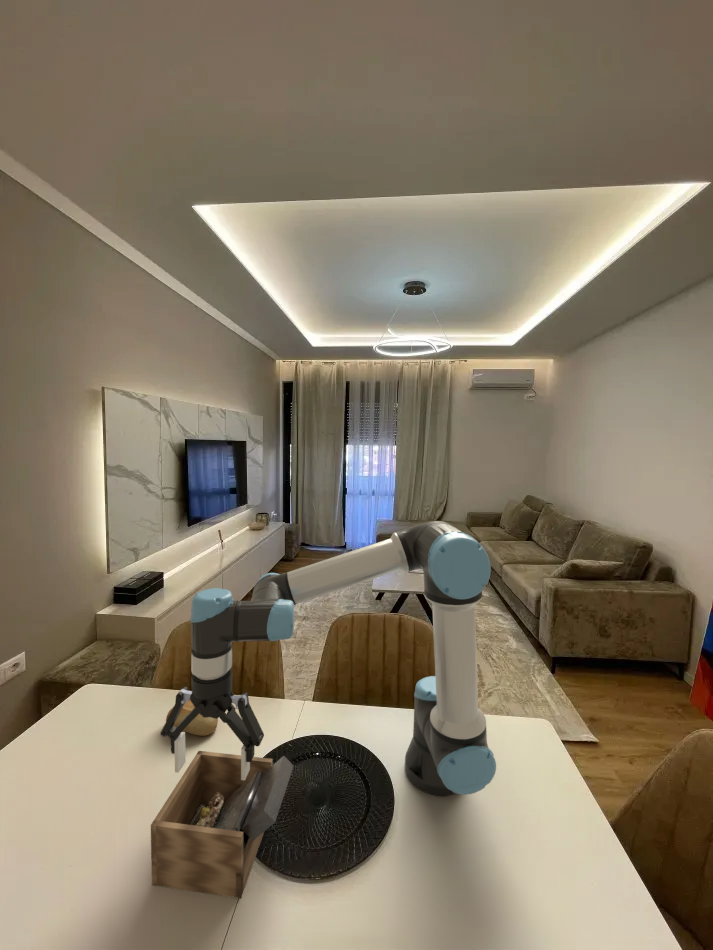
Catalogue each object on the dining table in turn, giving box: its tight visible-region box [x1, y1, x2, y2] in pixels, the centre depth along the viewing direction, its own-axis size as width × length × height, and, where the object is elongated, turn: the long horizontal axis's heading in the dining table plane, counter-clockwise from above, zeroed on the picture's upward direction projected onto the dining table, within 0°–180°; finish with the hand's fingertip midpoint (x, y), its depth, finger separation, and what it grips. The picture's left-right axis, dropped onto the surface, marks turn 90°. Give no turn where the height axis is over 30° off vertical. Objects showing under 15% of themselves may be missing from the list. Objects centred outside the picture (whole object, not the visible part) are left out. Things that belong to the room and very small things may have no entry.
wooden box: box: [150, 750, 274, 899], centre depth 84 cm, size 17×18×12 cm
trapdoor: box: [214, 755, 294, 841], centre depth 83 cm, size 17×14×4 cm
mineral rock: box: [195, 792, 224, 828], centre depth 84 cm, size 11×4×8 cm, turn 172°
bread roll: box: [165, 699, 219, 737], centre depth 117 cm, size 10×15×8 cm, turn 80°
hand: (212, 771), depth 83 cm, fingers open, 13 cm apart
